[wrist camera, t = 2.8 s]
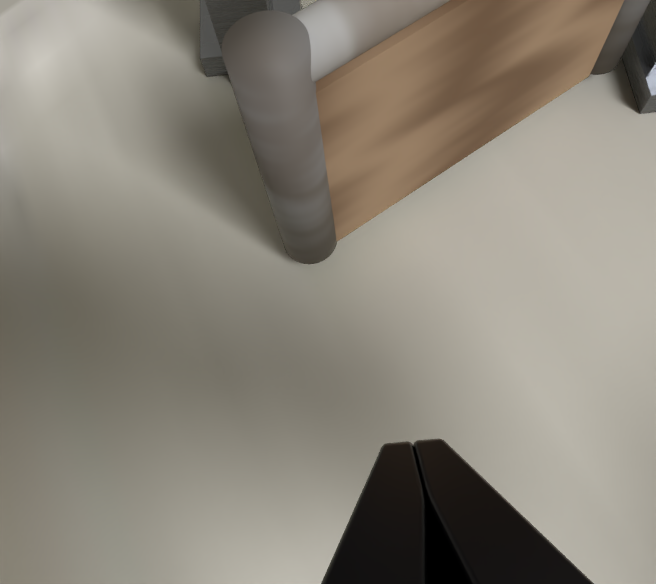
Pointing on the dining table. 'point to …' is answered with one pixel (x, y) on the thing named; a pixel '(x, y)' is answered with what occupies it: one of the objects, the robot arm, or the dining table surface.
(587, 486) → the dining table surface
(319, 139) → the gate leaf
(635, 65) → the gate posts
